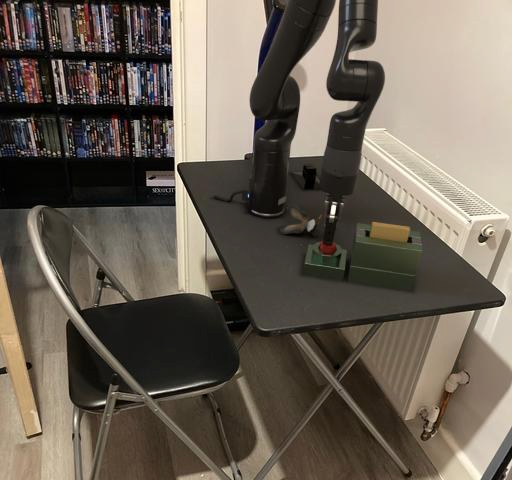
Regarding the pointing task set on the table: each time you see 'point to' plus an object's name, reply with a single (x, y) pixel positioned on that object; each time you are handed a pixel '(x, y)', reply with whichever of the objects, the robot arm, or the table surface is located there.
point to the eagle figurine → (302, 218)
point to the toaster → (384, 260)
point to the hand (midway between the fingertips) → (327, 243)
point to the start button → (327, 247)
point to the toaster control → (325, 263)
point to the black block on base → (307, 178)
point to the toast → (389, 232)
